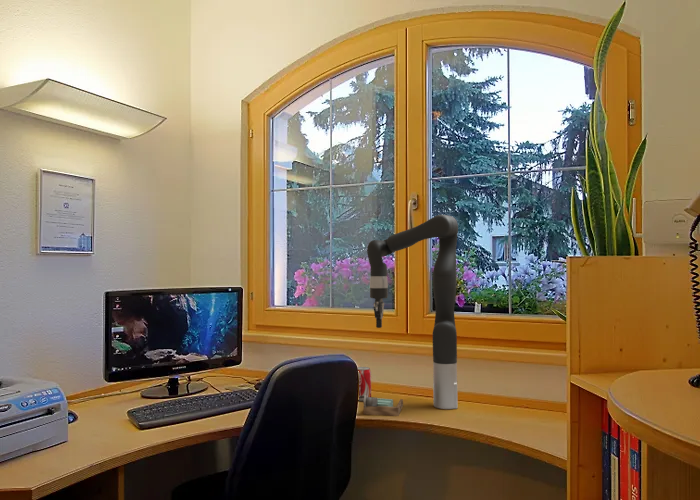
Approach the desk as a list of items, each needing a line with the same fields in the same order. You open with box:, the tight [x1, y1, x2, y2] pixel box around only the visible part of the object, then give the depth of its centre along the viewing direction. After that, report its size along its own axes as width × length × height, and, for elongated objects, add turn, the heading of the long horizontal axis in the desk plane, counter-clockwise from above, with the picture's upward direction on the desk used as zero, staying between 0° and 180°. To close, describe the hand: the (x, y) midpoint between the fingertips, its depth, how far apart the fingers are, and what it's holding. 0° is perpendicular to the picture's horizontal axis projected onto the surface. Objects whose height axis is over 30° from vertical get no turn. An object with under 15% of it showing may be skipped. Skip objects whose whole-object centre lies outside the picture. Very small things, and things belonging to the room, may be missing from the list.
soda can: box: [357, 366, 372, 402], centre depth 227 cm, size 7×7×13 cm
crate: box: [376, 397, 394, 407], centre depth 209 cm, size 8×8×4 cm
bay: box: [360, 395, 404, 417], centre depth 209 cm, size 14×17×7 cm
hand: (379, 327), depth 233 cm, fingers closed
